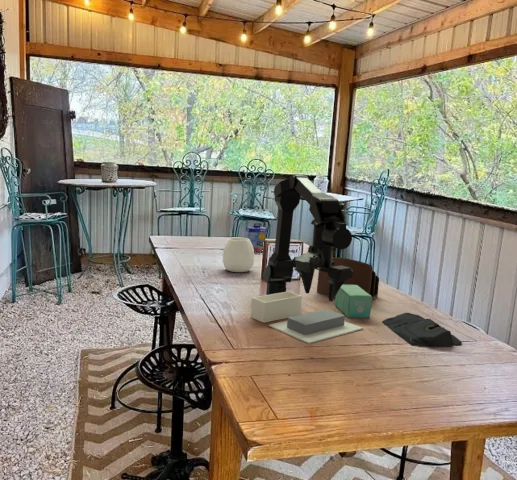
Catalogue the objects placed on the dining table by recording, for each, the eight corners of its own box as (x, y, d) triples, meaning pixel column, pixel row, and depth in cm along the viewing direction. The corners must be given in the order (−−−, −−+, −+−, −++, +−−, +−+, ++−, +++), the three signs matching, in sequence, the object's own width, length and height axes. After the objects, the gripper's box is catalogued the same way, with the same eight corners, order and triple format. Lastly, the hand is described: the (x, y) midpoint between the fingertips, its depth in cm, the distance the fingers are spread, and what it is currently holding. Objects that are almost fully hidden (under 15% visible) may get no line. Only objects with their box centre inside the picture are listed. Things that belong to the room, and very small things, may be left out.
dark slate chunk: (423, 321, 156) (425, 307, 156) (466, 348, 135) (468, 331, 134) (378, 322, 153) (379, 307, 152) (414, 350, 132) (416, 332, 131)
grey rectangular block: (286, 327, 141) (287, 317, 141) (325, 318, 151) (326, 309, 151) (304, 335, 136) (305, 325, 135) (344, 325, 146) (344, 315, 145)
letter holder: (368, 303, 173) (372, 263, 170) (316, 292, 183) (319, 254, 180) (377, 297, 181) (381, 259, 179) (327, 287, 191) (330, 251, 189)
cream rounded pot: (253, 275, 203) (254, 242, 201) (220, 273, 203) (221, 240, 201) (254, 268, 216) (255, 237, 214) (223, 266, 216) (224, 235, 214)
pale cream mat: (268, 326, 143) (268, 324, 143) (322, 314, 157) (322, 312, 157) (308, 343, 131) (308, 342, 131) (362, 329, 145) (363, 327, 144)
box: (348, 318, 154) (350, 294, 153) (334, 305, 167) (336, 283, 166) (370, 318, 155) (373, 295, 154) (354, 305, 168) (357, 284, 167)
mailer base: (250, 316, 150) (251, 297, 149) (287, 309, 159) (288, 291, 158) (263, 322, 145) (264, 302, 144) (300, 314, 155) (301, 295, 154)
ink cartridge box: (247, 252, 252) (249, 223, 249) (244, 250, 257) (245, 222, 254) (266, 251, 255) (267, 223, 253) (261, 249, 261) (263, 222, 258)
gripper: (278, 239, 142) (275, 292, 144) (327, 250, 127) (323, 310, 130) (307, 237, 149) (303, 288, 151) (356, 247, 134) (351, 304, 137)
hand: (318, 297), depth 142 cm, fingers open, 9 cm apart
